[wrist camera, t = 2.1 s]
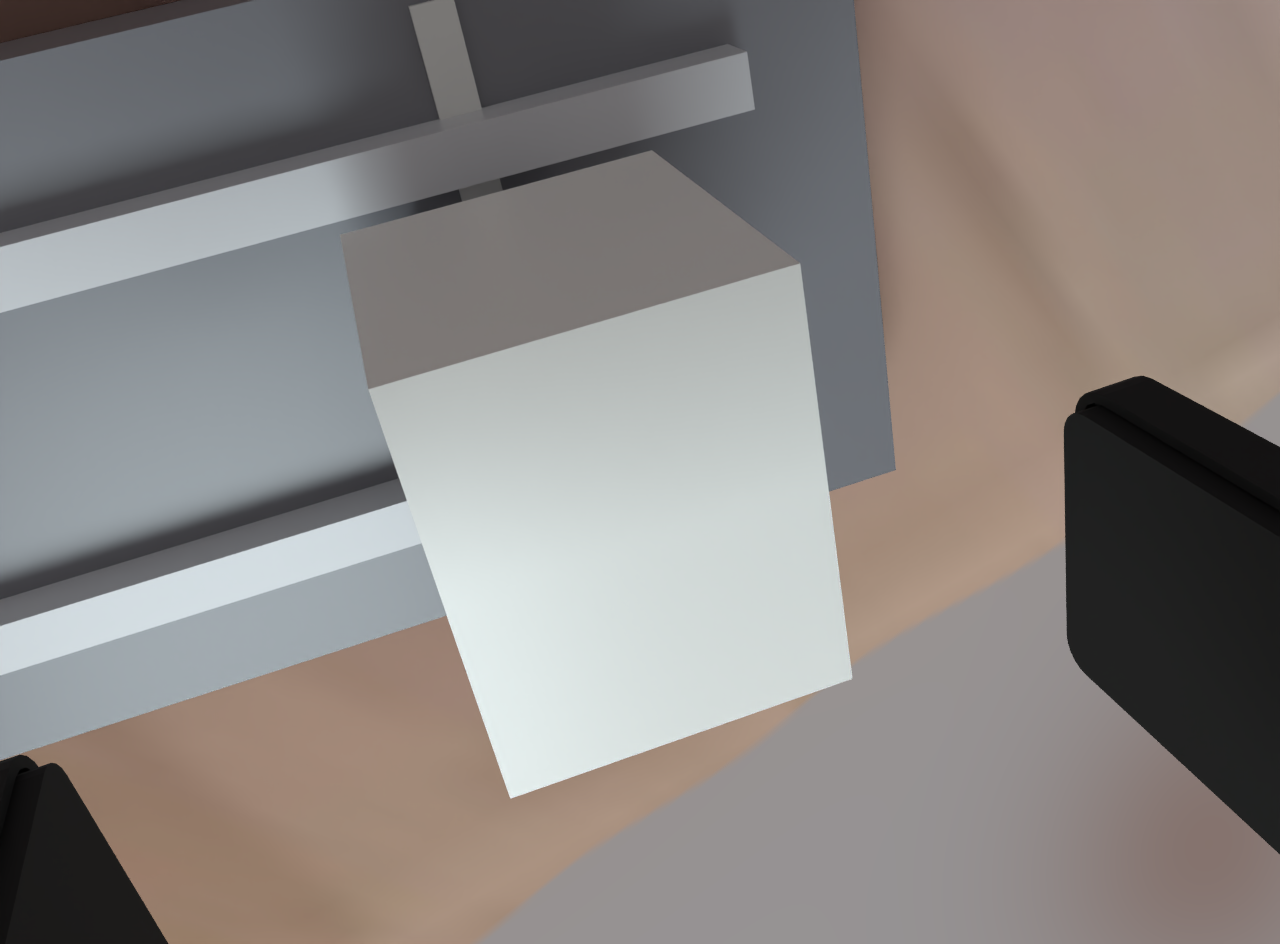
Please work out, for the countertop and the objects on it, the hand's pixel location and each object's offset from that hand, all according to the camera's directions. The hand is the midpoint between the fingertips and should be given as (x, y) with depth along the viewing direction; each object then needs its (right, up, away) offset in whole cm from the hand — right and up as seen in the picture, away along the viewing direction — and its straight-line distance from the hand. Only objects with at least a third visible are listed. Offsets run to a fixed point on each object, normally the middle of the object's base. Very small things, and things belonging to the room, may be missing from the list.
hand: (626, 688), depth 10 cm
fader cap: (-2, +4, +7) cm, 8 cm away
